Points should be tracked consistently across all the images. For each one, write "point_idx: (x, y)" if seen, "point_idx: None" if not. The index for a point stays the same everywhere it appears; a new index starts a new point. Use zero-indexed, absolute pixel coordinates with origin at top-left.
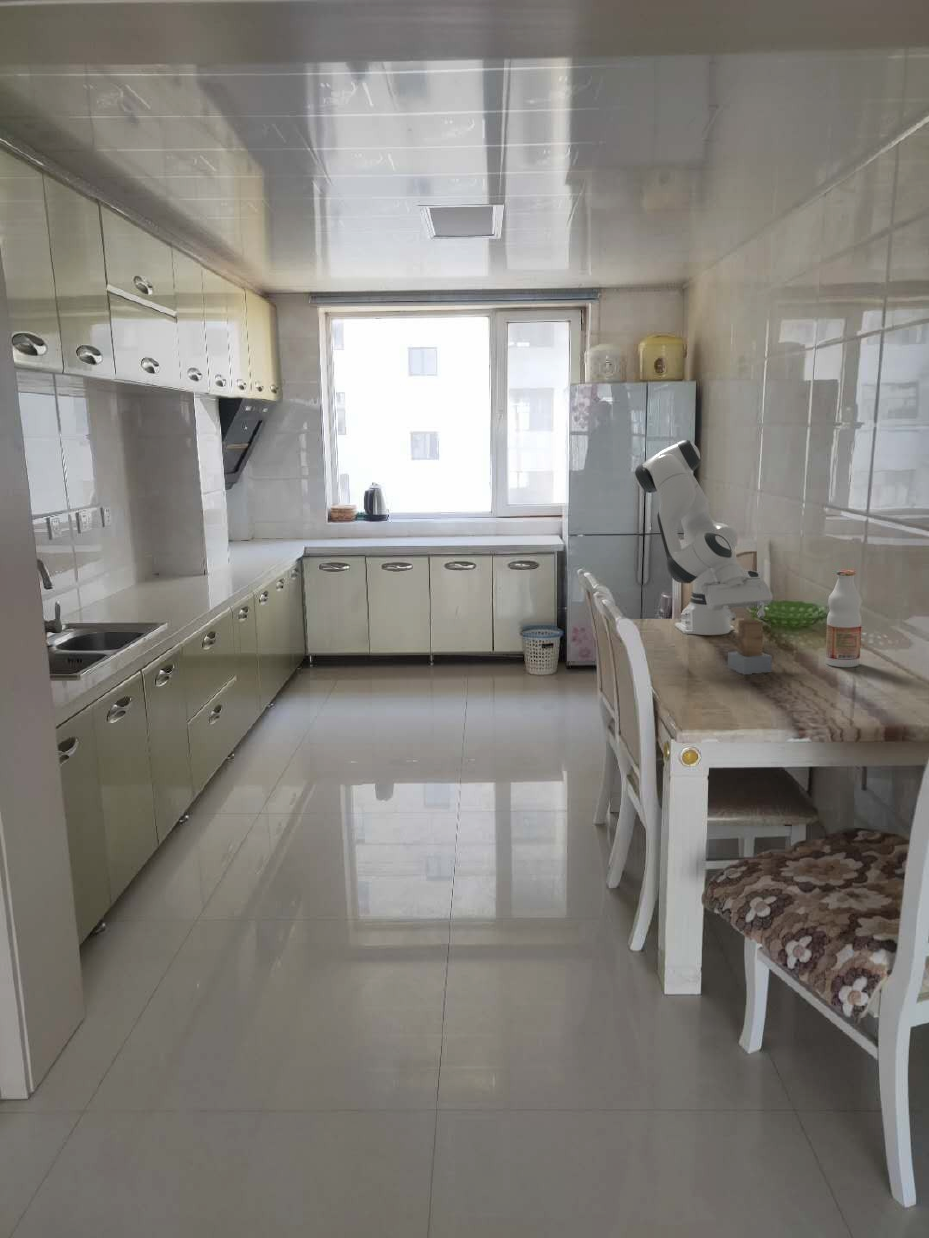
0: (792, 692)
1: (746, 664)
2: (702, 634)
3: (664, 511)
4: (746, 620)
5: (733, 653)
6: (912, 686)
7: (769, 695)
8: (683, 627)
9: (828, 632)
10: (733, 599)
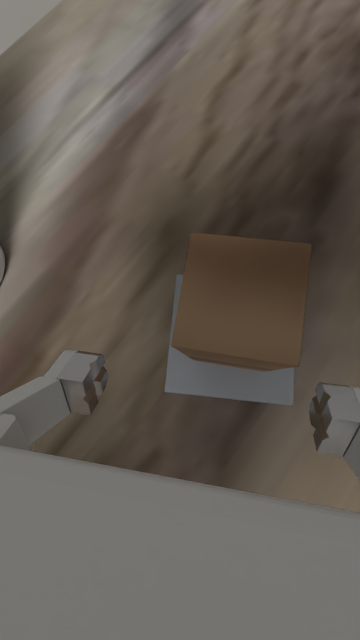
0: (276, 97)
1: None
2: None
3: None
4: (251, 329)
5: (282, 378)
6: (12, 58)
7: (350, 92)
8: None
9: None
10: (345, 567)
